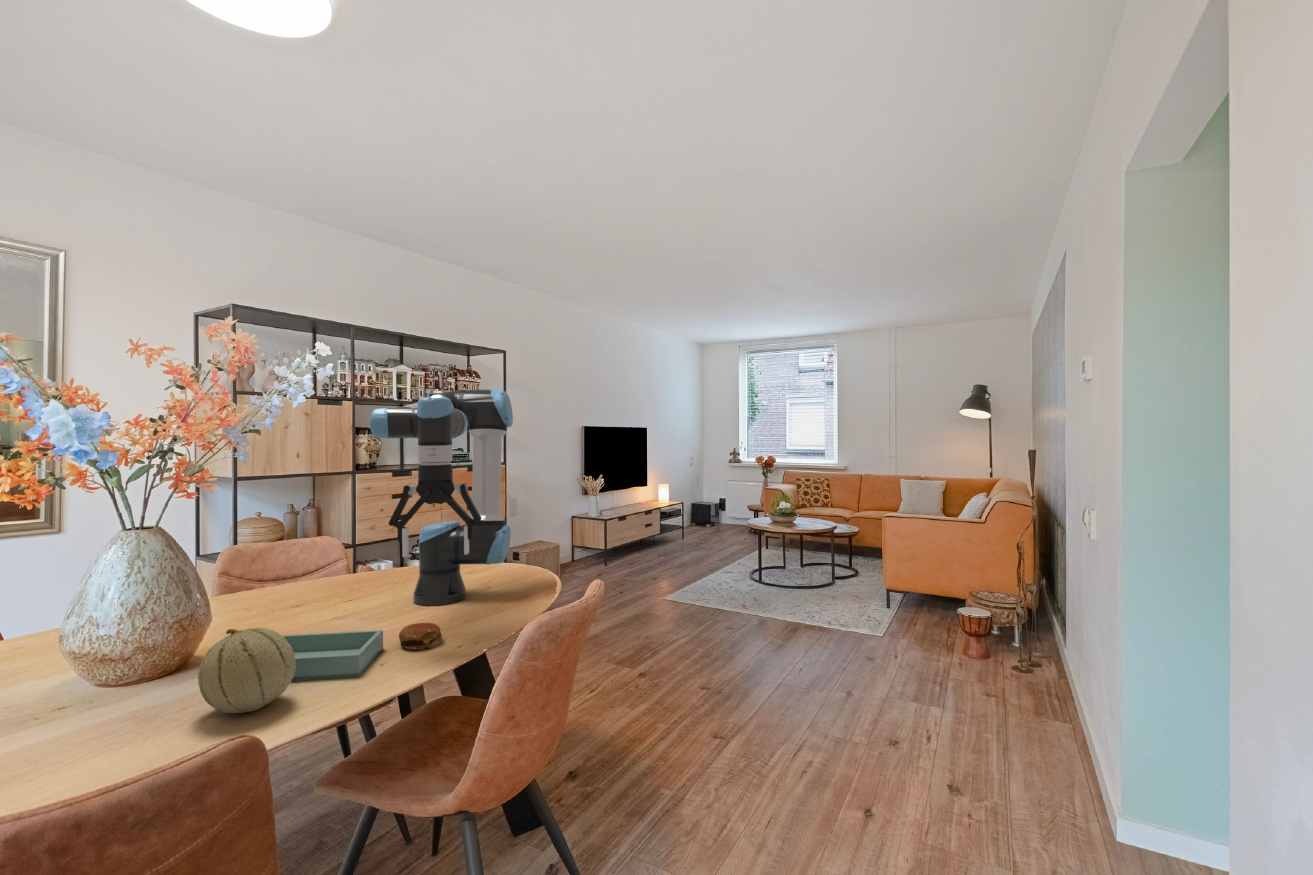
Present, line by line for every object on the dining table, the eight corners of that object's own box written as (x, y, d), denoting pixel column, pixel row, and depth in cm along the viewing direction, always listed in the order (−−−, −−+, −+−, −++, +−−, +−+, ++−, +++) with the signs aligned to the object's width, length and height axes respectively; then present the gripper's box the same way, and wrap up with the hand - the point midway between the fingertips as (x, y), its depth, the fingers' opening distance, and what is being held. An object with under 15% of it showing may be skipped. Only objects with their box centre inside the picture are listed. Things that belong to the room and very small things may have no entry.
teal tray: (272, 655, 135) (272, 635, 135) (383, 648, 138) (383, 629, 138) (232, 684, 119) (232, 662, 119) (358, 676, 122) (358, 655, 122)
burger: (417, 636, 147) (416, 617, 147) (449, 639, 145) (449, 620, 145) (389, 650, 138) (389, 630, 138) (423, 654, 135) (423, 634, 135)
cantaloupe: (297, 714, 106) (296, 630, 106) (193, 737, 98) (192, 647, 98) (294, 685, 118) (294, 610, 118) (202, 703, 110) (202, 623, 110)
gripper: (373, 465, 131) (374, 560, 132) (488, 463, 136) (489, 555, 136) (383, 463, 139) (384, 553, 139) (492, 462, 143) (493, 549, 143)
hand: (436, 554), depth 138 cm, fingers open, 13 cm apart
